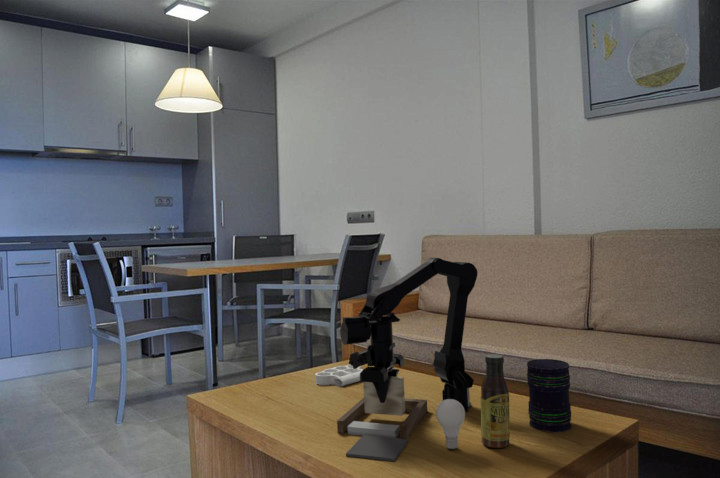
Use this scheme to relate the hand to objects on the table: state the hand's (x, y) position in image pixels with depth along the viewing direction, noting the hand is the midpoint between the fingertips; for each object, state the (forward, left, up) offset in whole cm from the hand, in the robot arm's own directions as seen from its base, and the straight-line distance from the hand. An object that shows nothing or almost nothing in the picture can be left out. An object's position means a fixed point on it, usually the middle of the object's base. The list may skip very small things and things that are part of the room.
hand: (384, 400), depth 143 cm
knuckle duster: (+26, -34, -6) cm, 43 cm away
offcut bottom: (0, +9, -6) cm, 11 cm away
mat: (-4, +18, -5) cm, 19 cm away
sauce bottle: (-29, +9, -5) cm, 31 cm away
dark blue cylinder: (-40, -6, -5) cm, 41 cm away
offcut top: (0, +9, -5) cm, 10 cm away
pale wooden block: (0, 0, -3) cm, 3 cm away
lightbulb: (-20, +14, -5) cm, 25 cm away
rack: (0, +1, -5) cm, 5 cm away
